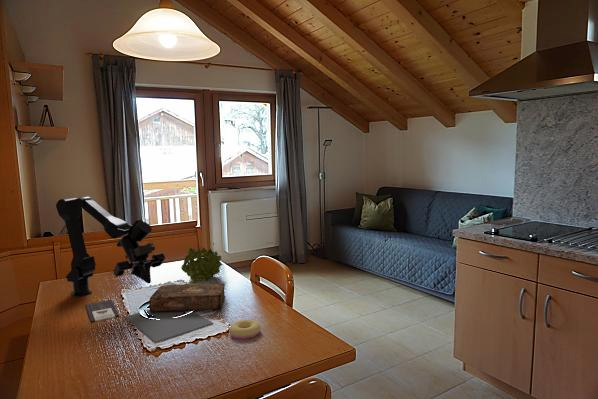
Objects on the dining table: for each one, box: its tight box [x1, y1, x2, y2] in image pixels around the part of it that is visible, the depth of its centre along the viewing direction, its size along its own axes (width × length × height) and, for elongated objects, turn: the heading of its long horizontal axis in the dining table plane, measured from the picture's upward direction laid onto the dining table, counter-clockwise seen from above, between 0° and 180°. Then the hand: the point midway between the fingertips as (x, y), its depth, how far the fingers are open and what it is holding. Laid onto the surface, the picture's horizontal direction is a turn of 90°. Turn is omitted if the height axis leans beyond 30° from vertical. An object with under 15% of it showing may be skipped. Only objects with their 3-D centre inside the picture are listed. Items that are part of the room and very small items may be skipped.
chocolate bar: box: [85, 299, 120, 323], centre depth 150 cm, size 9×1×18 cm
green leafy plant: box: [180, 247, 223, 283], centre depth 185 cm, size 18×16×16 cm
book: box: [148, 282, 226, 312], centre depth 155 cm, size 16×6×25 cm
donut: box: [228, 319, 262, 340], centre depth 132 cm, size 10×5×9 cm
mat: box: [124, 309, 214, 344], centre depth 142 cm, size 26×20×1 cm
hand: (149, 282), depth 152 cm, fingers closed
